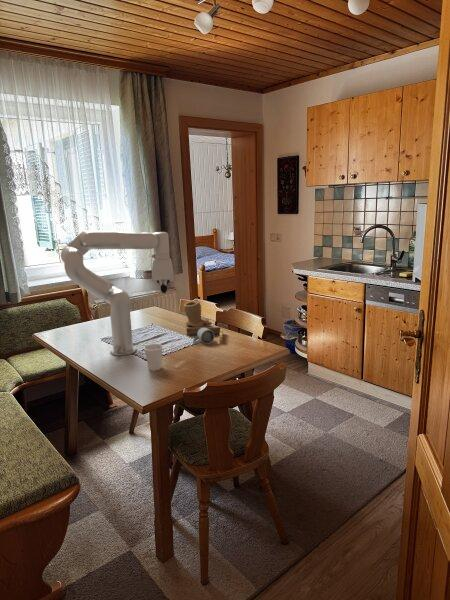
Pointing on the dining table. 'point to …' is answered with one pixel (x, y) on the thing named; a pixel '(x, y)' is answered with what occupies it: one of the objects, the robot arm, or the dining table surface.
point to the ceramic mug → (204, 336)
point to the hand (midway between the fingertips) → (164, 292)
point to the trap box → (216, 330)
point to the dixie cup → (154, 356)
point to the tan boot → (195, 315)
